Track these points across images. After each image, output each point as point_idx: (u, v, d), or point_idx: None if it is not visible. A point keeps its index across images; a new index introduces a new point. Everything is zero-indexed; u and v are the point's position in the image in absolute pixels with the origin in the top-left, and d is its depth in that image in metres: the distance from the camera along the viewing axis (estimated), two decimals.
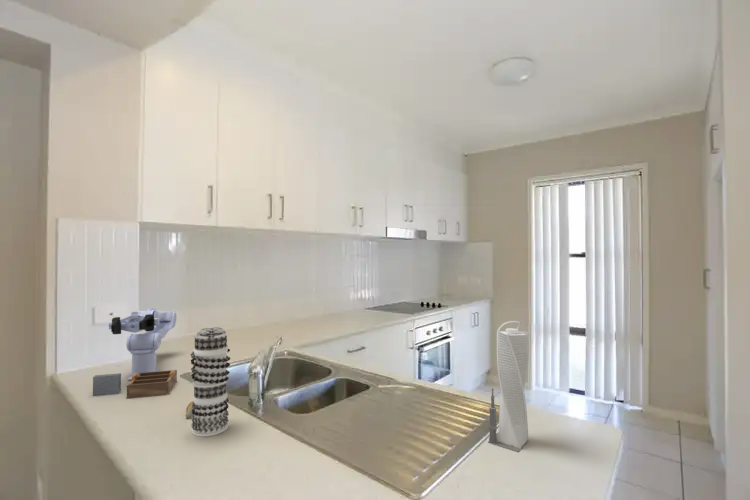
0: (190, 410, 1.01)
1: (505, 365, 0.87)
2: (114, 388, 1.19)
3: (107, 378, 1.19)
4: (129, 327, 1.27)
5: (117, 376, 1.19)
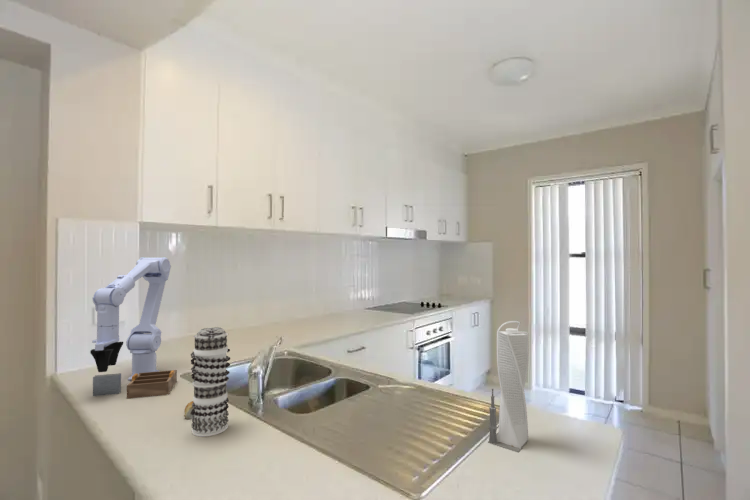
0: (188, 411, 1.00)
1: (505, 365, 0.87)
2: (114, 388, 1.19)
3: (107, 378, 1.19)
4: None
5: (117, 376, 1.19)
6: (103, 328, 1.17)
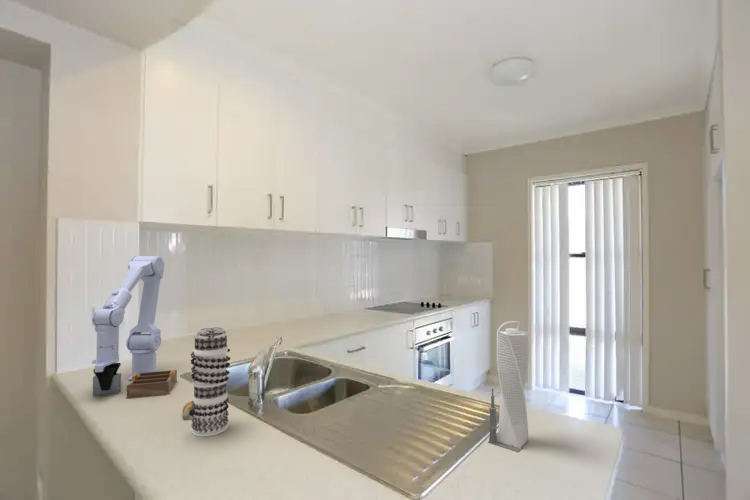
0: (187, 411, 1.00)
1: (505, 365, 0.87)
2: (114, 388, 1.19)
3: None
4: None
5: (117, 376, 1.19)
6: (103, 349, 1.17)
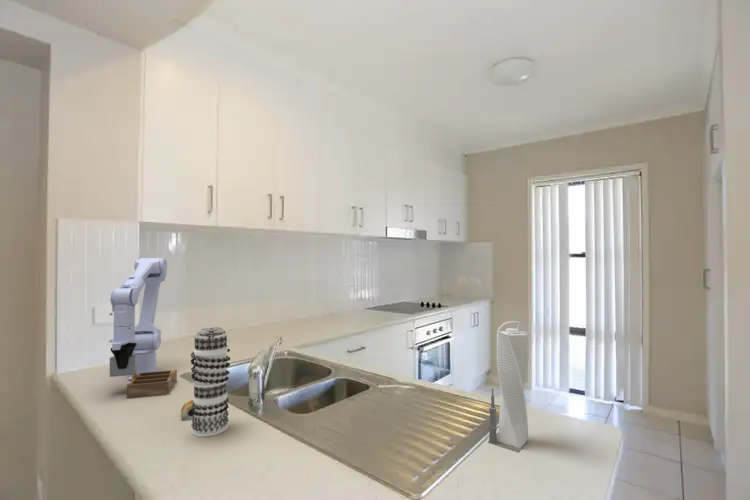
0: (185, 411, 1.00)
1: (505, 365, 0.87)
2: (130, 369, 1.21)
3: None
4: None
5: (133, 357, 1.21)
6: (120, 328, 1.18)
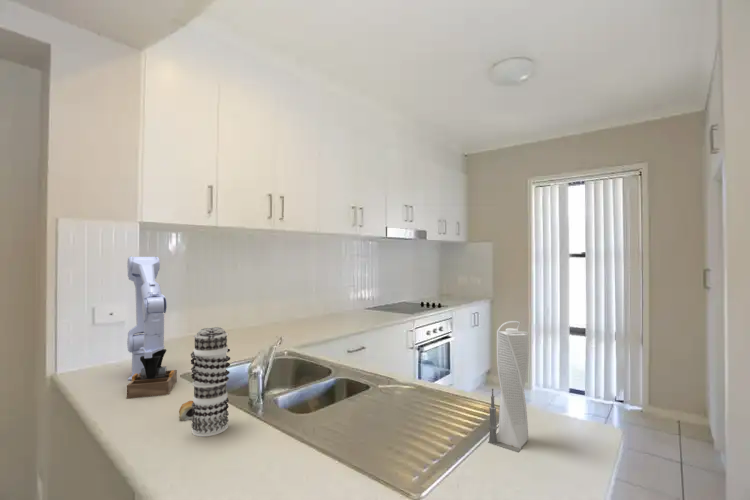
0: (184, 412, 1.00)
1: (505, 365, 0.87)
2: None
3: None
4: None
5: (163, 369, 1.23)
6: (150, 336, 1.21)
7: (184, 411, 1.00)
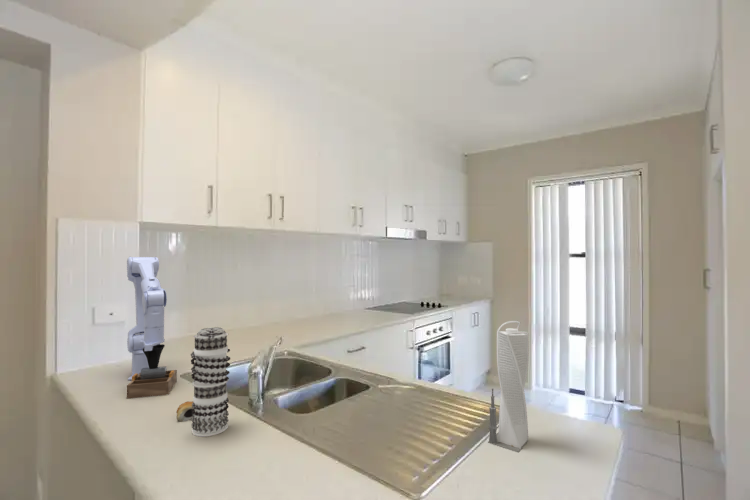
0: (182, 413, 0.99)
1: (505, 365, 0.87)
2: None
3: (154, 371, 1.23)
4: None
5: (163, 369, 1.23)
6: (150, 329, 1.21)
7: (182, 412, 0.99)
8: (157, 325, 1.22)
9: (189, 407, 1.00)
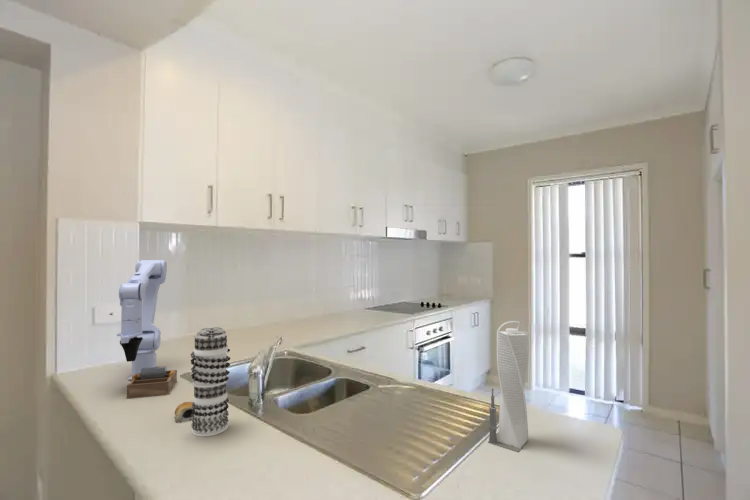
0: (180, 413, 0.99)
1: (505, 365, 0.87)
2: None
3: (154, 371, 1.23)
4: None
5: (163, 369, 1.23)
6: (127, 322, 1.21)
7: (180, 412, 0.99)
8: (130, 318, 1.21)
9: (187, 407, 1.00)
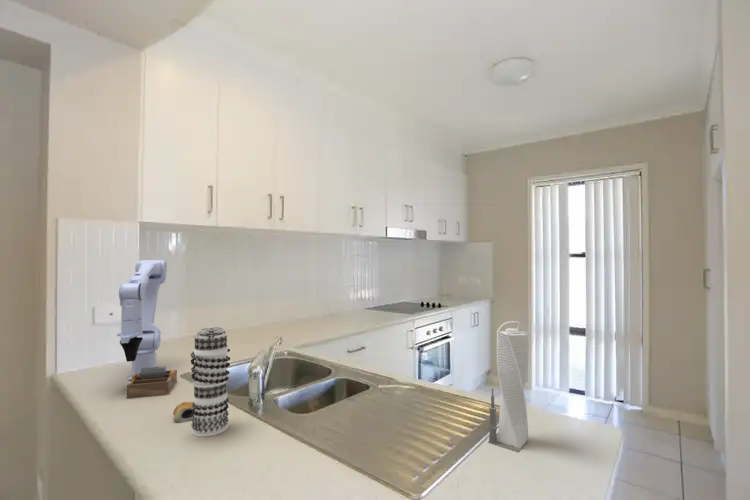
0: (179, 413, 0.99)
1: (505, 365, 0.87)
2: None
3: (154, 371, 1.23)
4: None
5: (163, 369, 1.23)
6: (127, 322, 1.21)
7: (179, 413, 0.99)
8: (130, 318, 1.21)
9: (186, 408, 1.00)
